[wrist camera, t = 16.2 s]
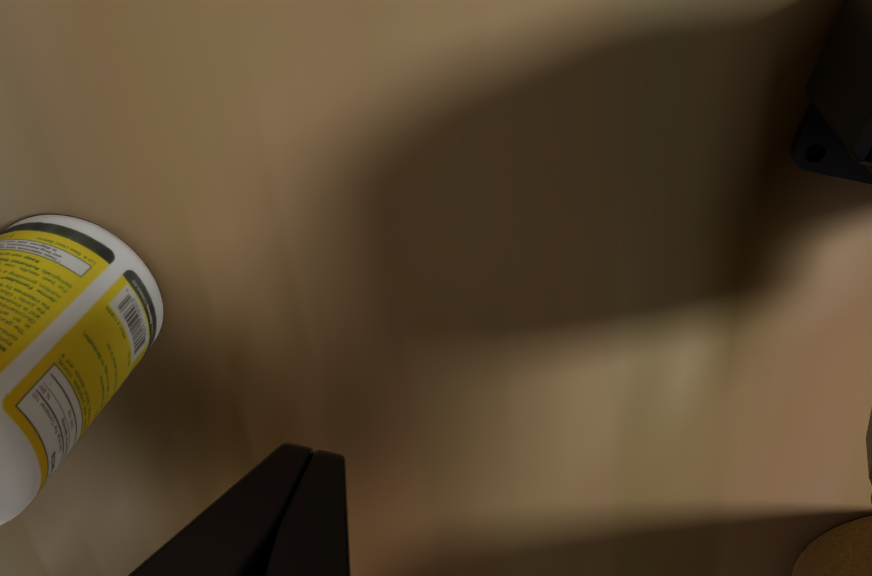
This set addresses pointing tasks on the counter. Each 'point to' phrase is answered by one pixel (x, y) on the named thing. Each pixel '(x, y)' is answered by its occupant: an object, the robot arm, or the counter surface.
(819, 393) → the counter surface
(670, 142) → the counter surface
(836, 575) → the plant pot
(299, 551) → the robot arm
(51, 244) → the pill bottle
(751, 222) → the counter surface
